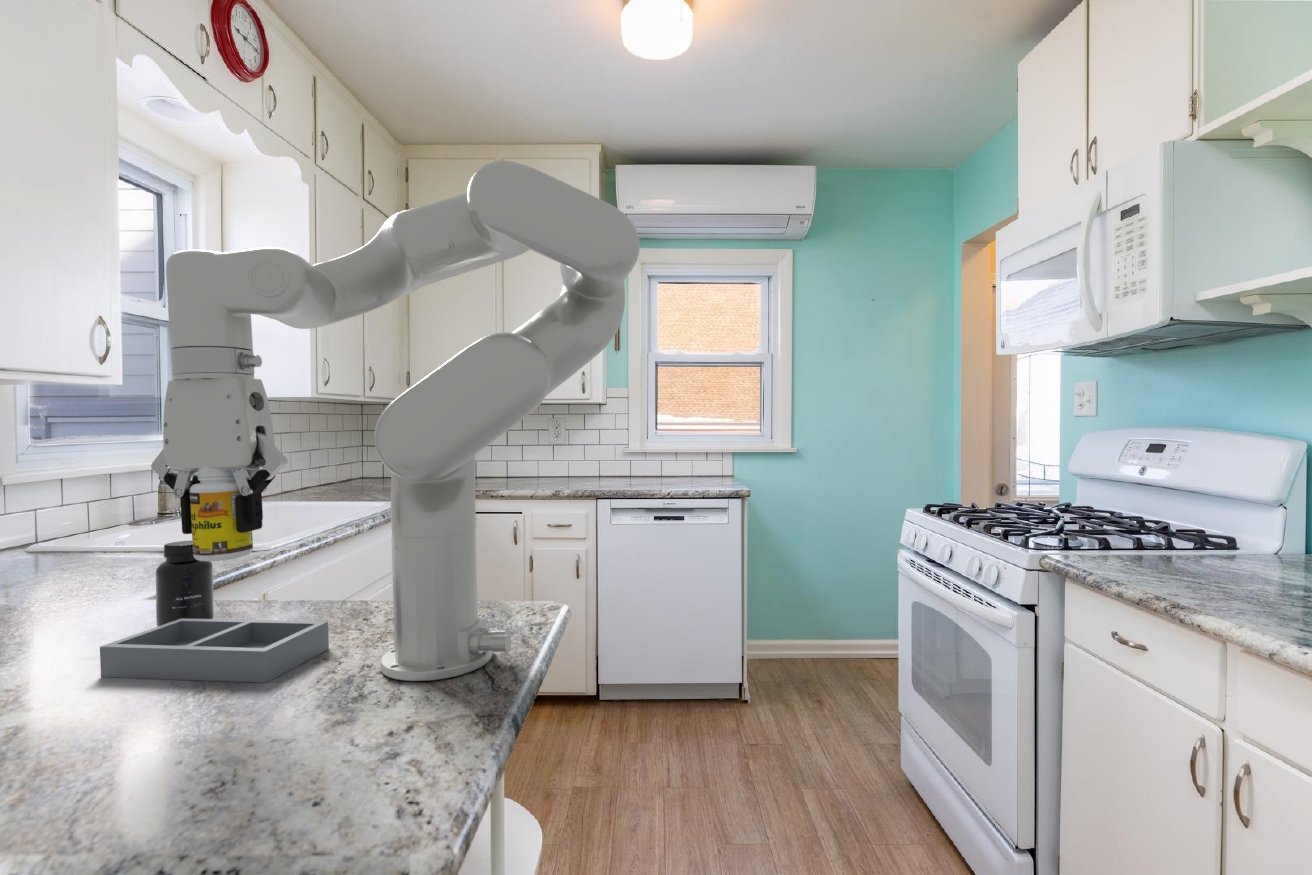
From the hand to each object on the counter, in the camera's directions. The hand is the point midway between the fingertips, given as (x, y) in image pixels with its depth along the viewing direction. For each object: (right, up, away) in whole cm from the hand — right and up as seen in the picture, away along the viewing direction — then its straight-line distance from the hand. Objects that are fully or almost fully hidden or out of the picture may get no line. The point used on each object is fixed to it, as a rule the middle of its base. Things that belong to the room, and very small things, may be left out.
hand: (223, 529), depth 72 cm
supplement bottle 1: (-21, -17, +23) cm, 36 cm away
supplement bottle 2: (0, -3, 0) cm, 3 cm away
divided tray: (-5, -17, +7) cm, 19 cm away
